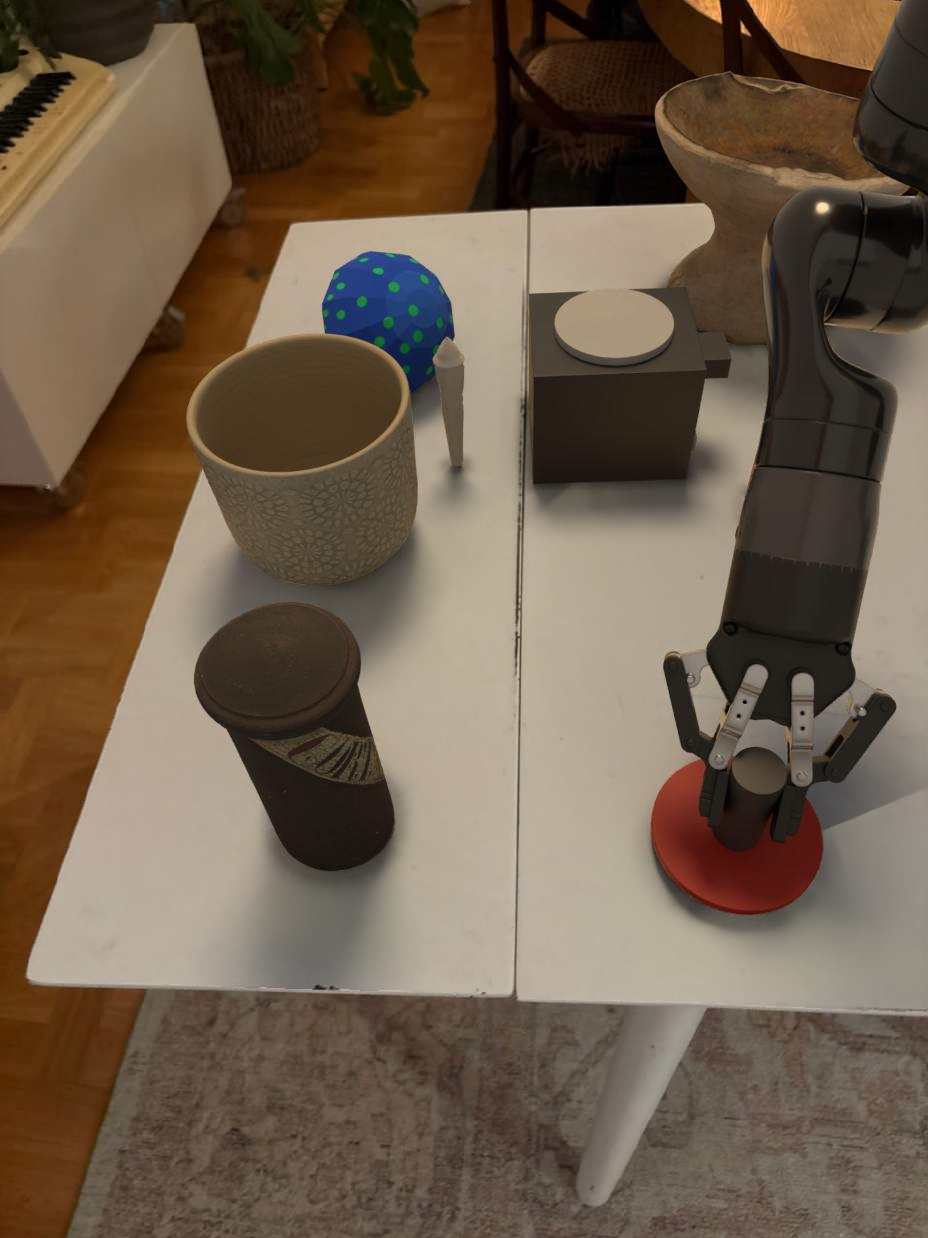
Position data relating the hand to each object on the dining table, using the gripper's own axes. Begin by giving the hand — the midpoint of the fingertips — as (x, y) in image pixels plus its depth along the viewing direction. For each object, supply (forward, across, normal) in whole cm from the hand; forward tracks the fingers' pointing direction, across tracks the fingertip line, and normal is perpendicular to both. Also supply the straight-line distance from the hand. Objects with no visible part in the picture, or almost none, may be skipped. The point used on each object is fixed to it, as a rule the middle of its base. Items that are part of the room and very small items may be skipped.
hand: (744, 830), depth 56 cm
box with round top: (-25, -14, +33) cm, 43 cm away
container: (+6, -27, +2) cm, 28 cm away
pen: (-20, -28, +28) cm, 44 cm away
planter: (-12, -37, +20) cm, 43 cm away
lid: (+2, 0, +5) cm, 5 cm away
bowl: (-43, -4, +51) cm, 67 cm away
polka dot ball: (-28, -39, +36) cm, 60 cm away
